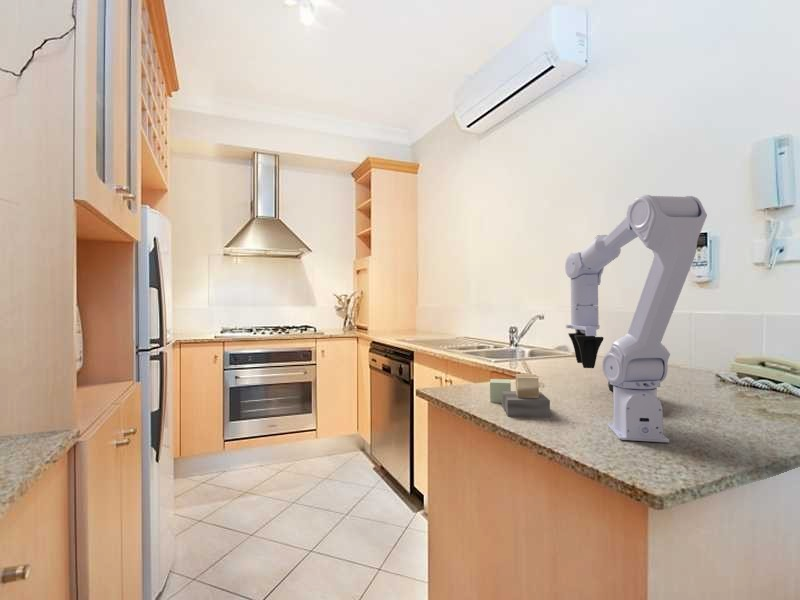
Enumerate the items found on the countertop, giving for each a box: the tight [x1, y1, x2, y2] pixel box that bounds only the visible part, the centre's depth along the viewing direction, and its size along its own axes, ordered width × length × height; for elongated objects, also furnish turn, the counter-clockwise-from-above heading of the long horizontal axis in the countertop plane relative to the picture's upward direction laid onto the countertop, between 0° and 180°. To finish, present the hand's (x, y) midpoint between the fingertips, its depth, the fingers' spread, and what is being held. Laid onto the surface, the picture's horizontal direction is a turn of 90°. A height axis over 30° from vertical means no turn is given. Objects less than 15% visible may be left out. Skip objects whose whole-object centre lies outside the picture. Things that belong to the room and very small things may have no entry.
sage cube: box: [489, 378, 512, 404], centre depth 107 cm, size 5×5×5 cm
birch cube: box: [515, 373, 540, 398], centre depth 95 cm, size 4×4×4 cm
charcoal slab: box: [501, 390, 551, 418], centre depth 96 cm, size 9×9×4 cm
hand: (585, 365), depth 95 cm, fingers open, 7 cm apart
